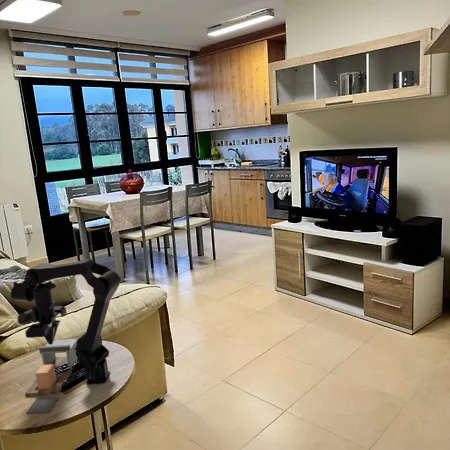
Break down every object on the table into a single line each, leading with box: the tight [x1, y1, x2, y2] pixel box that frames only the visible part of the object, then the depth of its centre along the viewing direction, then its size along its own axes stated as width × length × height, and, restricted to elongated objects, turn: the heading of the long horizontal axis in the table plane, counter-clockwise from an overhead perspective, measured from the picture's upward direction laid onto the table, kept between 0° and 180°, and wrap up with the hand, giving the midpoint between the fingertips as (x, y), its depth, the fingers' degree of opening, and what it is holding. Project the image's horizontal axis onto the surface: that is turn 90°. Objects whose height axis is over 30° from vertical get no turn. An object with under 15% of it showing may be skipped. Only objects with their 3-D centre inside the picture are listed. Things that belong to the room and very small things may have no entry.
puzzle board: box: [24, 356, 78, 397], centre depth 146 cm, size 10×22×1 cm, turn 179°
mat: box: [25, 396, 59, 415], centre depth 130 cm, size 7×7×1 cm
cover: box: [38, 338, 79, 369], centre depth 151 cm, size 10×8×8 cm
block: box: [35, 364, 58, 390], centre depth 139 cm, size 4×5×6 cm
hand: (50, 344), depth 144 cm, fingers closed
